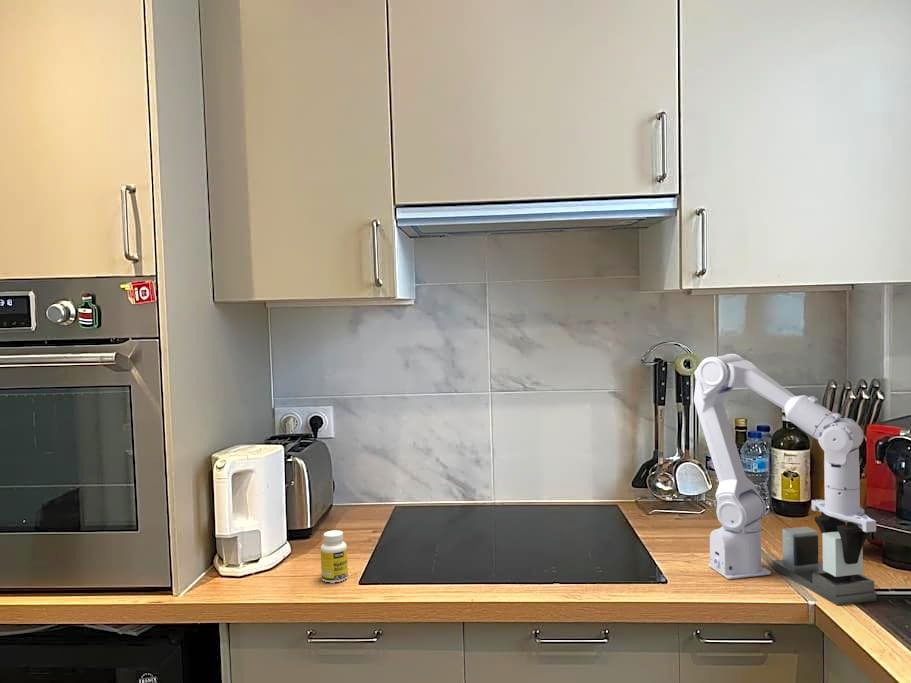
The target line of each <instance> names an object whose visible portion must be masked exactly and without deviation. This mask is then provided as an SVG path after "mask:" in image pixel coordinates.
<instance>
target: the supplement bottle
mask: <svg viewBox="0 0 911 683" xmlns="http://www.w3.org/2000/svg"><path fill="white" fill-rule="evenodd" d="M343 540H344V532H343V531H342V530H335V529H334V530H329V531H326V532H324V533H323V541H324V542H323V543H322V544H321V545H320V563H321V564H320V566H321V580H322V582H324V581H325V582H324V583H326V582H330V583H329V584H336V583H335V582H339V583H341V582H340V581H342V582H344V581H346V580H347V579H348V576H349V574H348V573H349V572H348V547H347V543H346V542H345V541H343ZM345 579H346V580H345ZM343 580H344V581H343Z"/></svg>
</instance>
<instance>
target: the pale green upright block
mask: <svg viewBox="0 0 911 683" xmlns="http://www.w3.org/2000/svg"><path fill="white" fill-rule="evenodd" d="M821 535H822V565H823V570H824V571H826V572H827V573H829V574H831V575H833V576H835V577H840V576H848V575H857V574H861V575H864V564H863V563H864V560H863V557H864V556H863V554H864V553H863V552H864V551H863V550H864V548H863V546H864V545H863V546H862V549H861V552H860V556H859V559H858V563H856V564H846V563H845V560H844V555H843V545H842V540H841V537H840V534H839V532H838V531H837V532H828V533H821Z"/></svg>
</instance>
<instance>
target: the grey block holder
mask: <svg viewBox="0 0 911 683" xmlns="http://www.w3.org/2000/svg"><path fill="white" fill-rule="evenodd" d="M781 535H782V537H781V538H782V559H776V560H772V568H773V569H774V570H775V571H777V572H779V573H780V574H782V575H784V576H786V577H787V578H789V579H791V581H792V580H793V581H794V582H796V583H797V584H799V585H800V586H802V587H804V588H807V589H808V590H810V591H811V592H813V593H815V594H817V595H818V596H819V597H821V598H824V599H825V600H826V601H829V602H830V603H832V604H834V605H836V606H842V605H852V604H859V603H867V602H868V603H869V602H877V592H876V591H875V580H873V579H871V578H870V577H867V576H866V575H864V574H857V575H848V576H840V577H835V576H833V575H831V574H829V573H827V572H826V571H824V570H823V563H820V560H819V556H820V555H819V554H820V552H819V531H817V530H816V529H814V528H811V527H810V526H798V527H789V528H782V533H781Z"/></svg>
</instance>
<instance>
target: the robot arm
mask: <svg viewBox="0 0 911 683" xmlns="http://www.w3.org/2000/svg"><path fill="white" fill-rule="evenodd" d="M693 373H694V377H695V379H696V380H695V386H694V387H695V388H694V394H693V402H694V406H695V410H696V413H697V416H698V419H699V422H700V426H701V429H702V432H703V435H704V439H705V441H706V445H707V447H708V451H709V455H710V458H711V462H712V465H713V467H714V471H715V474H716V477H717V480H718V486H717V489H716V491H715V495H714V496H715V499H716V517H717V520H718V521H719V523H720V524H721V527H719V528H717V529H713V530H712V531H711V532H710V534H709V562H708V565H707V566H708V567H710V568H711V569H713V570H714V571H716V572H717V573H719V574H720V575H722V577H724V578H726V579H728V580H733V579H741V578H751V577H761V576H766V575H767V576H769V575H772V572H771V571H770V570H768V569H767V568H765V567H763V566H762V533H761V532H762V530H761V527H762V526H761V519H762V518H764V516H765V514H766V512H767V504H766V501H765V500H764V498H763V496H761V495H760V493H759V492H758V491H757V488H756V485H755V483H754V482H753V481H751V479H749V478H748V477H747V474H746V472H745V469H744V466H743V463H742V459H741V456H740V452H739V450H738V447H737V444H736V441H735V437H734V434H733V431H732V427H731V425H730V422H729V418H728V415H727V412H726V409H725V405H724V401H725V400H726V399H727V397H728V395H729V394H730V392H731V390H732V389H734V388H741V389H742V388H747V389H750V390H751V391H753V392H754V393H756V394H758V395H759V396H761V397H763V398H764V399H765V400H768V401H769V402H771V403H773V404H774V405H775V406H778V407H779V408H781V409H782V410H783V411H784V414H785V418H786V419H787V421H789V422H790V423H792V424H793V425H794V426H796V427H797V428H799V429H801V431H804V432H805V433H807V434H808V435H810V436H811V437H812V438H813V439H815V440H817V442H818V444H819V446H820V448H821V449H822V450H823V452H824V456H823V457H824V460H823V466H824V467H823V468H824V469H823V471H824V472H823V473H824V475H823V476H824V481H823V482H824V484H823V485H824V489H823V490H824V499H822V498H821V499H820V498H819V499H811V511H813V512H820V513H821V514H820V515H816V516H814V522H815V523H816V525H817V526H818V528H819V530H820V532H821V534H822V533H828V532H837V531H838V532H839V534H840V537H841V540H842V545H843V555H844V560H845V563H846V564H856V563H858V559H859V556H860V552H861V549H862V546H864V544H865V542H866V540H867V538H868V537H869V536H870V534H871V533H875V532H877V520H875V519H873V518H871V517H869V516H868V515H867V514H865V508H862V507H861V504H860V503H861V502H860V501H861V498H860V497H861V496H860V493H861V491H860V490H861V489H860V488H861V486H860V479H861V478H860V449H859V447H860V446H861V445H862V443H863V441H864V431H863V429H862V428H861V426H860V425H859V424H858V423H857V422H856V421H855V420H854V419H853V418H849V417H848V418H845V417H844V418H841V417H842V414H840V413H838V412H832V411H831V410H829V409H828V408H826V407H825V406H823V405H822V404H820V403H818V402H819V399H818V398H817V397H815V396H814V395H811V396H808V395H805V394H803V395H795V394H793V393H792V392H791V391H789V389H786V388H785V387H784V386H782V384H780V383H778V382H777V381H776V380H774V379H773V378H771V377H770V376H768V375H767V374H766V373H765V372H763V371H761V369H759V368H758V367H757V366H756V365H754V363H752V362H751V361H749V360H747V359H744V358H743V357H742V356H740V355H738V354H737V353H728V354H724V355H720V356H710V357H706V358H704V359H702V361H701V362H700V363H699V365H698V366H697V368H696V370H695V371H694V372H693ZM846 523H847V525H845V524H846Z"/></svg>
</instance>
